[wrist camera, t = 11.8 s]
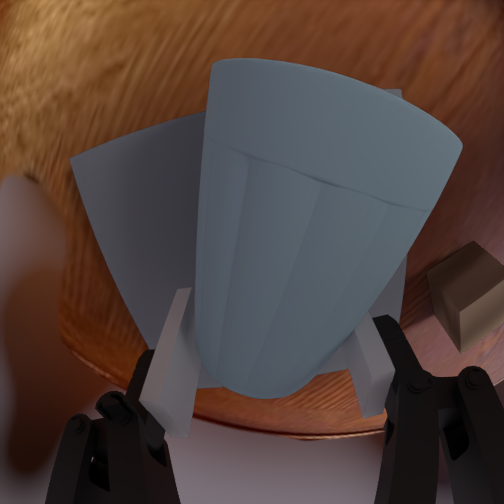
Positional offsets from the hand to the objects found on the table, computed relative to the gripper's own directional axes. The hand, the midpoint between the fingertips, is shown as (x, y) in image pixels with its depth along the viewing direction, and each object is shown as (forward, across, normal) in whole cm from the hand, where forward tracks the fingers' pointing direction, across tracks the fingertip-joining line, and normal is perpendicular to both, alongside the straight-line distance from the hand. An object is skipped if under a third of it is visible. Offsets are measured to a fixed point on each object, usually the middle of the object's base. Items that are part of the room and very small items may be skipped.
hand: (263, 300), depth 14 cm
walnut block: (+4, +15, -5) cm, 16 cm away
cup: (+2, -1, +1) cm, 2 cm away
